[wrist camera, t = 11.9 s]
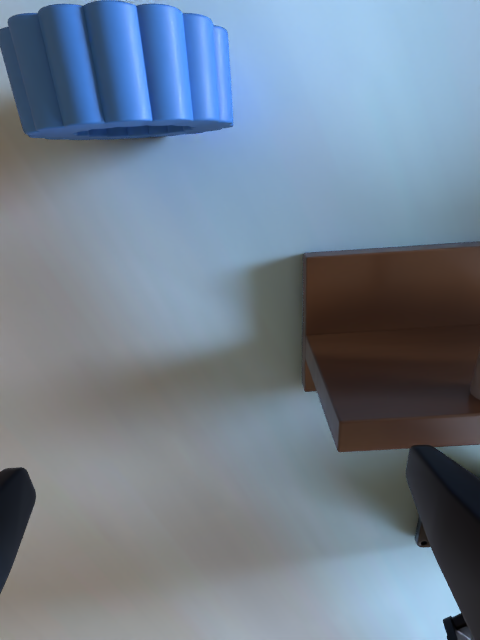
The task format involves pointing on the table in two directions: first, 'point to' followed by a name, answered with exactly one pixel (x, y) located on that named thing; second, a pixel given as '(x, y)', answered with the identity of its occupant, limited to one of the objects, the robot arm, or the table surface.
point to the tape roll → (117, 71)
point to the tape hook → (394, 344)
